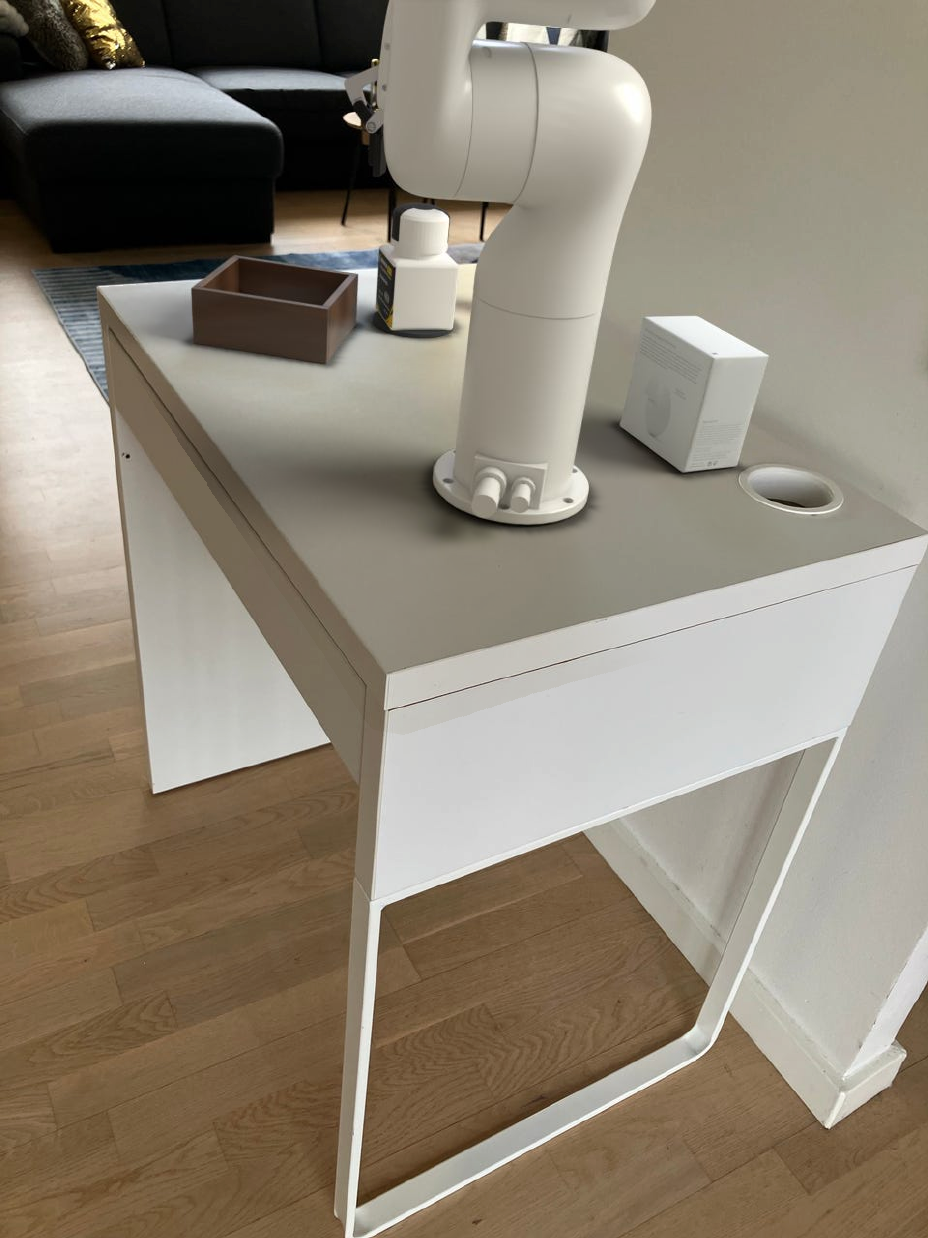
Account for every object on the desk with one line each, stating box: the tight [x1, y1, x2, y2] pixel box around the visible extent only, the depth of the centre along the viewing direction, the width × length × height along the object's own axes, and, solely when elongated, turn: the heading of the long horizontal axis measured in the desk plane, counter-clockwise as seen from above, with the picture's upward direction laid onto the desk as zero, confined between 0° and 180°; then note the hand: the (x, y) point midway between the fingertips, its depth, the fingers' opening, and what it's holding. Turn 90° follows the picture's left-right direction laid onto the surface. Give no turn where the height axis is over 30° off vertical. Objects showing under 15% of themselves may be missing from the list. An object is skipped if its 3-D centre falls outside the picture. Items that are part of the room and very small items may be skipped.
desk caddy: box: [190, 254, 359, 365], centre depth 106 cm, size 13×14×6 cm
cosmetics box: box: [619, 315, 770, 474], centre depth 91 cm, size 10×6×10 cm, turn 25°
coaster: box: [372, 310, 455, 339], centre depth 114 cm, size 9×9×1 cm
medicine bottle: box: [375, 202, 460, 330], centre depth 110 cm, size 7×7×12 cm
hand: (425, 180), depth 105 cm, fingers open, 9 cm apart
